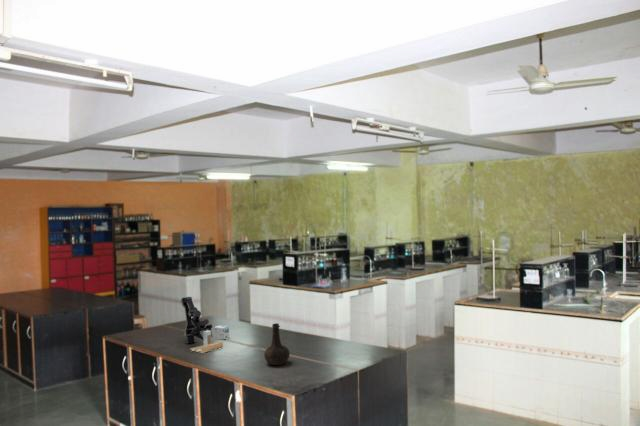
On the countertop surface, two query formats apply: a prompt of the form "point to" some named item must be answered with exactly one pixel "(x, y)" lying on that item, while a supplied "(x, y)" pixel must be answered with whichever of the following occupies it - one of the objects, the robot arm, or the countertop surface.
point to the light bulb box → (222, 332)
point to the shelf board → (198, 349)
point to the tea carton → (207, 337)
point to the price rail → (211, 346)
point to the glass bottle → (276, 349)
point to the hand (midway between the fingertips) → (207, 338)
